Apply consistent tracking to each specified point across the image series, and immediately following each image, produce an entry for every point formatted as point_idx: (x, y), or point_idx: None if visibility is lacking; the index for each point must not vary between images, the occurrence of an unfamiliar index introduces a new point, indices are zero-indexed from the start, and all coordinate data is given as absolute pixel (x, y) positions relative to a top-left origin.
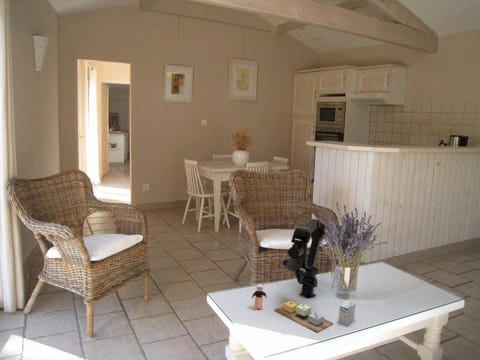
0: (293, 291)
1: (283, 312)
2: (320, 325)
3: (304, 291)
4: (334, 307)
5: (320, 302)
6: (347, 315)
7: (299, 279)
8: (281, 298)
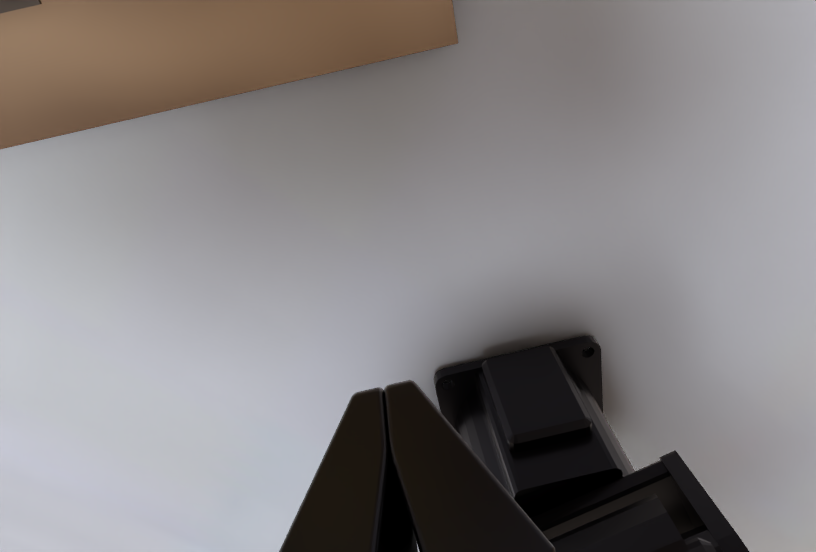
0: (708, 323)
1: None
2: None
3: (519, 406)
4: (112, 498)
5: (289, 437)
6: None
7: (316, 517)
8: (683, 28)
